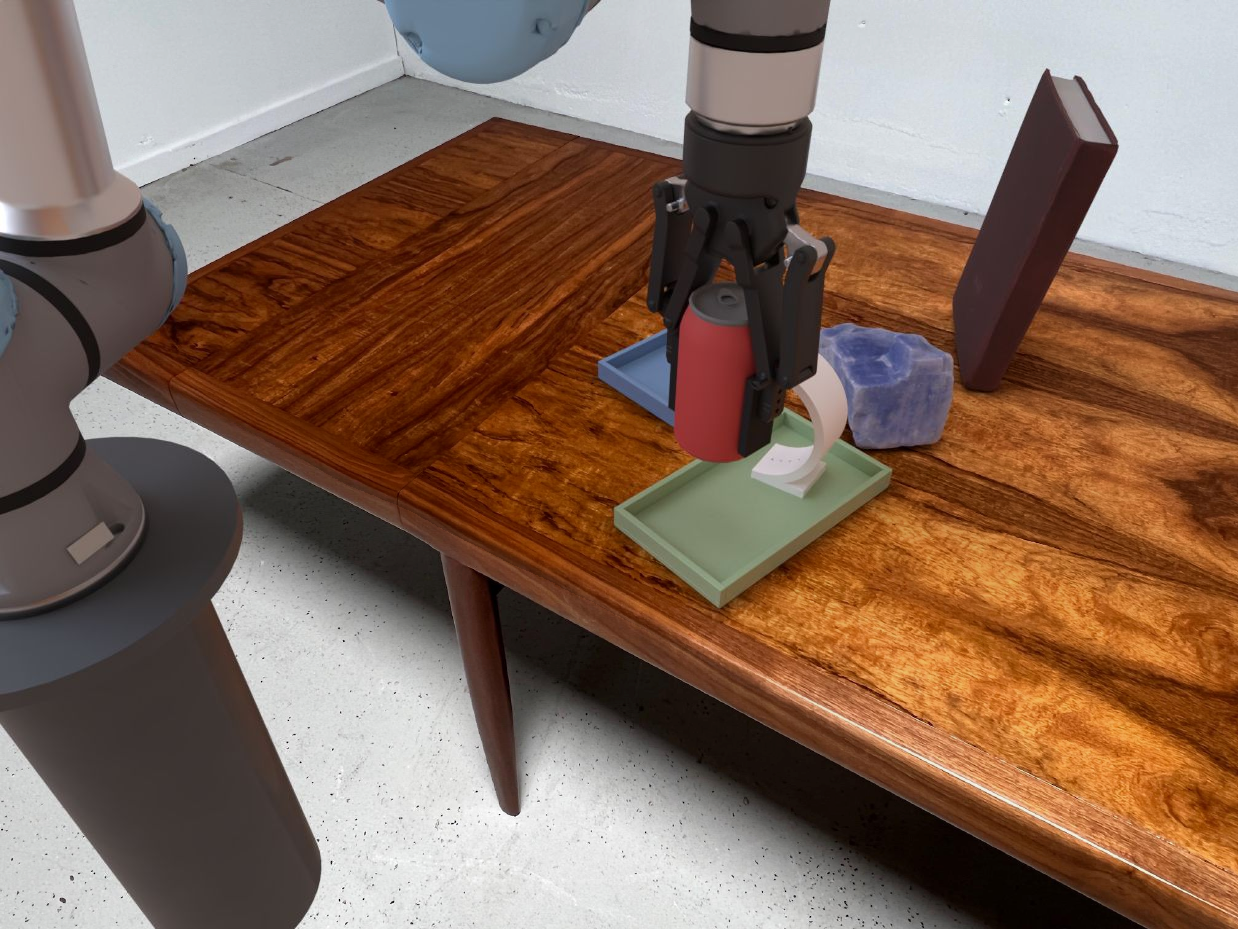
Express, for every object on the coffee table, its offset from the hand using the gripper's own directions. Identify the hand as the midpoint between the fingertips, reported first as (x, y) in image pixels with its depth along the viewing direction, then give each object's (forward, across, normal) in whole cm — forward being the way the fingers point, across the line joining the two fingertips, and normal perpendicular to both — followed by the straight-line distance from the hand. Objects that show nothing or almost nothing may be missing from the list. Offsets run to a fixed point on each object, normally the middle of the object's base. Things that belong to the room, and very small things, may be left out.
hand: (718, 424), depth 68 cm
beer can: (+2, 0, 0) cm, 2 cm away
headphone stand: (+11, 0, -10) cm, 15 cm away
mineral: (+11, +2, -24) cm, 27 cm away
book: (+11, 0, -41) cm, 43 cm away
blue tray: (+11, +18, -13) cm, 25 cm away
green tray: (+11, 0, -5) cm, 12 cm away
